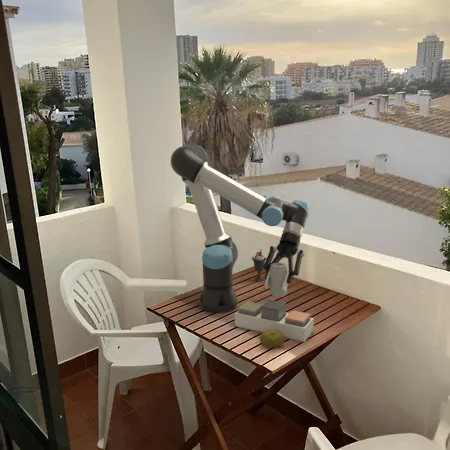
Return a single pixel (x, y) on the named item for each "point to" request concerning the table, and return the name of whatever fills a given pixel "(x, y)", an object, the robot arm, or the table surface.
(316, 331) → the table surface
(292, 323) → the key terracotta
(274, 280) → the beverage can
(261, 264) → the sundae
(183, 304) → the table surface
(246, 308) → the key olive
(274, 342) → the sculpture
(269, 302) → the key charcoal
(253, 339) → the table surface
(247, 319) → the light grey piece
